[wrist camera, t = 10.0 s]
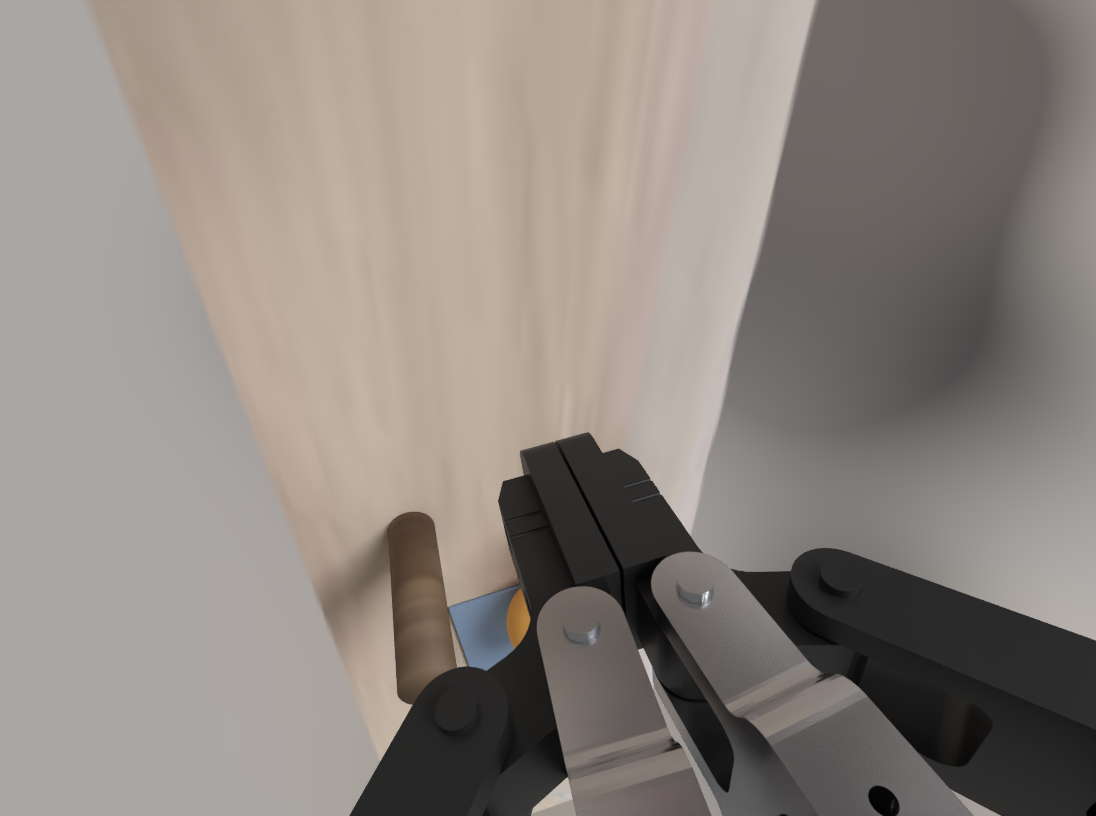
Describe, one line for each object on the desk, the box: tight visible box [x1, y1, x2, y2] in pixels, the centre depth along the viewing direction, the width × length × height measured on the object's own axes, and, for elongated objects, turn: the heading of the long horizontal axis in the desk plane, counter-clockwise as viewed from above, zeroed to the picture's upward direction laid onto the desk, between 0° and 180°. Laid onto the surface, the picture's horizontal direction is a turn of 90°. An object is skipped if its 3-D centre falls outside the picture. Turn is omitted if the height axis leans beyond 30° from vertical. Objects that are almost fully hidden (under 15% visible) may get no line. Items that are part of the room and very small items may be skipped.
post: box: [388, 512, 457, 705], centre depth 25 cm, size 2×2×9 cm
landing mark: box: [449, 585, 521, 671], centre depth 38 cm, size 14×10×1 cm
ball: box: [507, 588, 530, 648], centre depth 32 cm, size 5×5×5 cm
